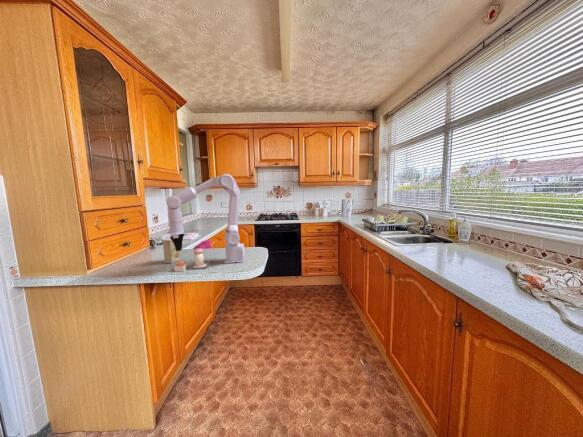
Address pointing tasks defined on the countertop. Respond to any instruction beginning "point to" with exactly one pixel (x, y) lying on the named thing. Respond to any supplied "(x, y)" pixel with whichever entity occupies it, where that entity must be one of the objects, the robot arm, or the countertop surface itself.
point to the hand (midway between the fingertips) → (179, 250)
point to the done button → (180, 263)
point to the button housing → (180, 267)
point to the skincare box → (170, 251)
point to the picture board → (206, 264)
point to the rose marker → (198, 257)
